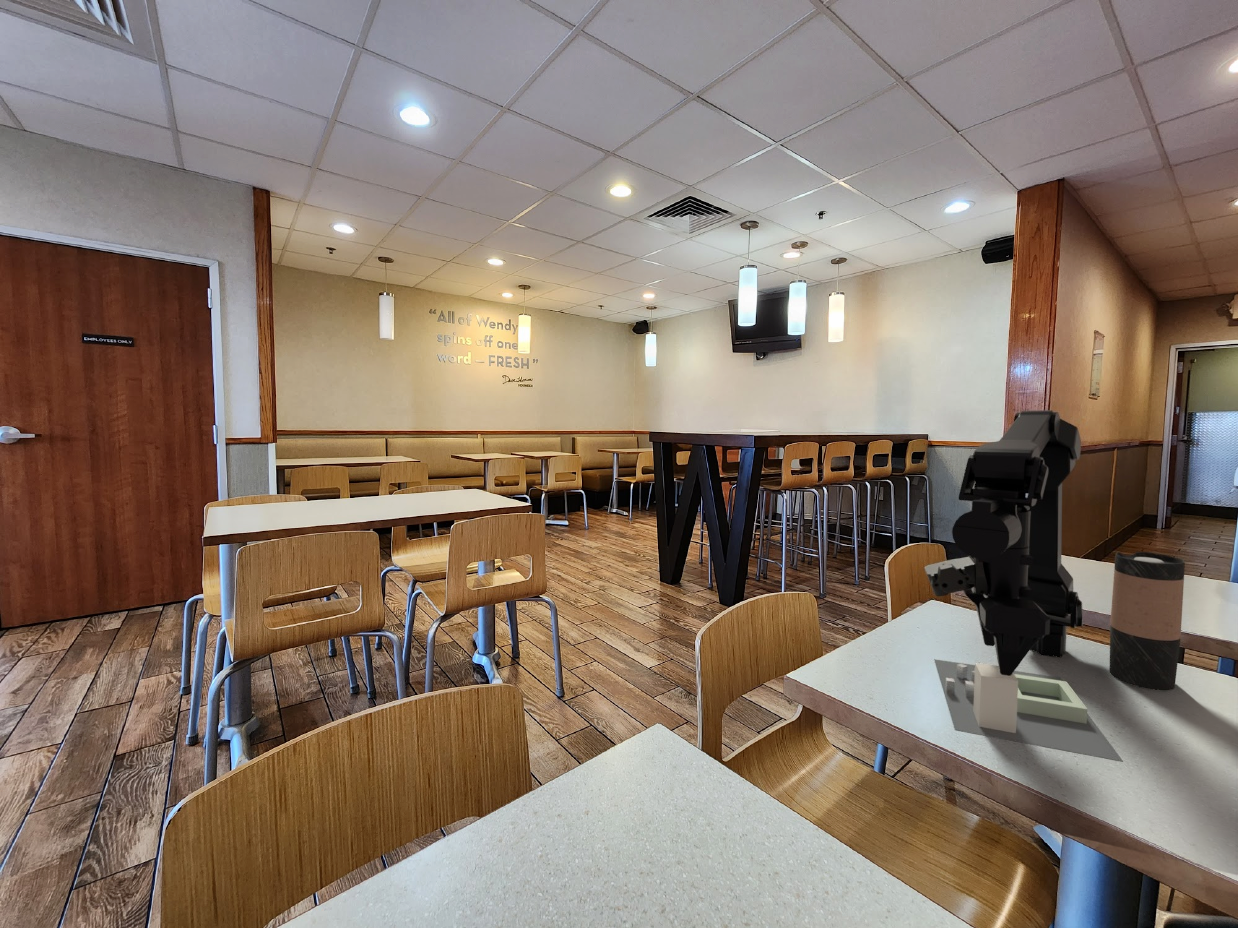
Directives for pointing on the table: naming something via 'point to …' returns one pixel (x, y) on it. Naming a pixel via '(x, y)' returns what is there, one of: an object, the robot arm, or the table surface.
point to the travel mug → (1146, 619)
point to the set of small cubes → (962, 675)
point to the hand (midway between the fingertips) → (996, 659)
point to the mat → (1025, 720)
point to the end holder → (1063, 709)
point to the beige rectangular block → (995, 698)
